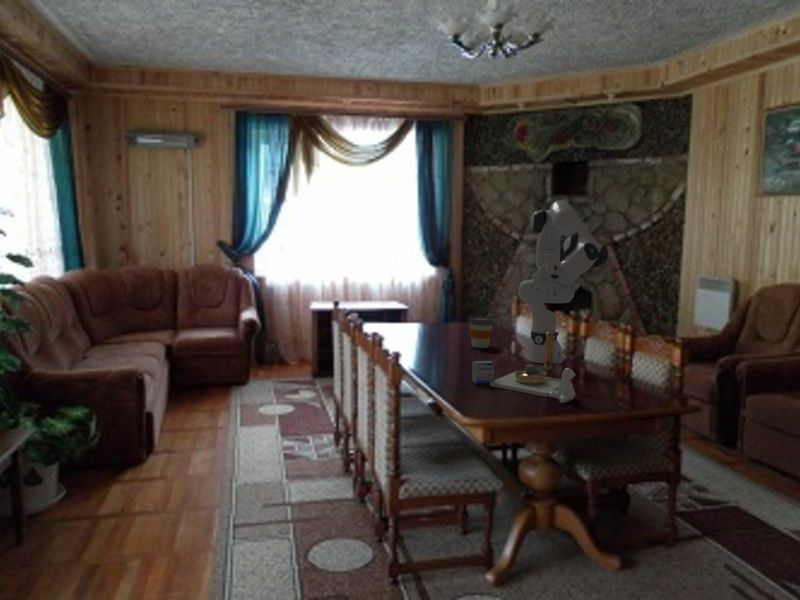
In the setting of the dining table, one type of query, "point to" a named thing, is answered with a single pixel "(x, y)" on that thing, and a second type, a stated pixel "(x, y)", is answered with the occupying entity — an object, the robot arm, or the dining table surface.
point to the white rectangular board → (540, 390)
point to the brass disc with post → (540, 371)
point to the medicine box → (482, 372)
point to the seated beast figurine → (564, 387)
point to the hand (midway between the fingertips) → (544, 291)
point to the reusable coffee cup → (480, 331)
